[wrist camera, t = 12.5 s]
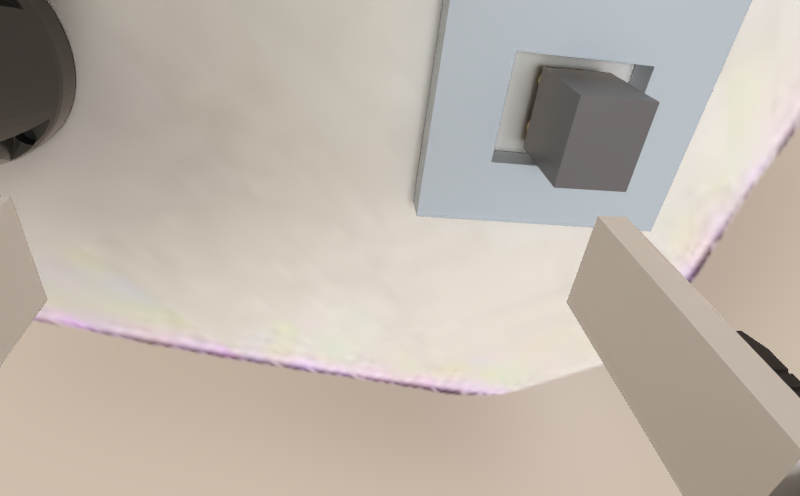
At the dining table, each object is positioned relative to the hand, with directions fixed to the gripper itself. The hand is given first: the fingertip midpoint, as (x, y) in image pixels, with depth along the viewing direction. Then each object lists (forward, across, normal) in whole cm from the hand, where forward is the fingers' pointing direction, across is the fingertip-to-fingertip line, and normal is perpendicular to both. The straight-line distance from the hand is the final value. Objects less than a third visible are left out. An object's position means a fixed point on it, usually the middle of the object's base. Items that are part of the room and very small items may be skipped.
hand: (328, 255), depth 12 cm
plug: (+27, +18, -4) cm, 32 cm away
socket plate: (+27, +18, -4) cm, 32 cm away
